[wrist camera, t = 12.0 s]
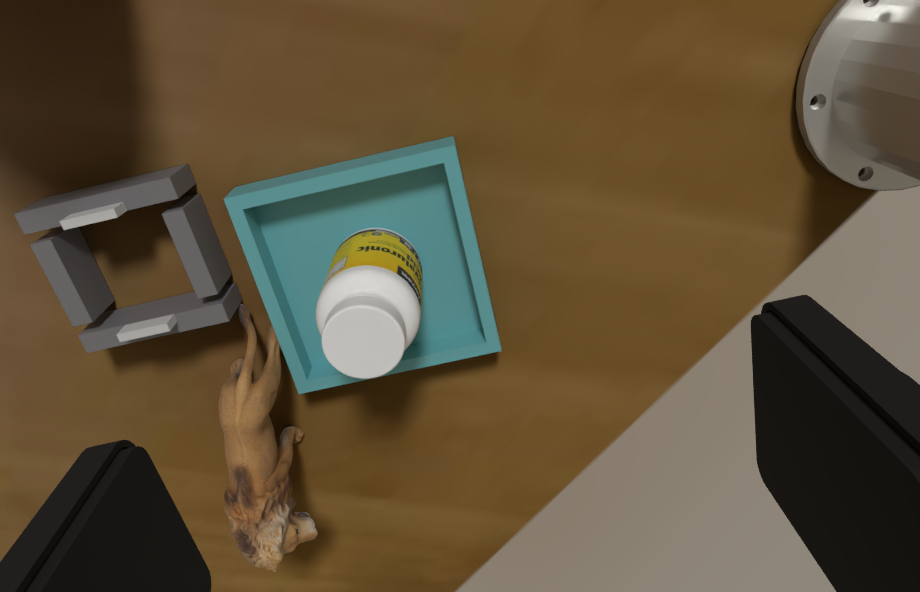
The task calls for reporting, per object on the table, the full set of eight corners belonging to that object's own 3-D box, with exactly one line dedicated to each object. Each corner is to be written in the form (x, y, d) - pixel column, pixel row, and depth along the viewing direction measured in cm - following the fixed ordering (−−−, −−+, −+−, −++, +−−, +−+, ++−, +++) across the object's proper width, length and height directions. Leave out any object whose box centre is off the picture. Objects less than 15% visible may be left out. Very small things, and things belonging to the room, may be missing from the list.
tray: (453, 135, 38) (454, 145, 36) (498, 332, 44) (501, 350, 42) (235, 187, 39) (223, 199, 37) (305, 374, 45) (298, 394, 42)
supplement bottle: (440, 257, 41) (443, 334, 32) (388, 322, 43) (377, 412, 34) (365, 206, 39) (346, 271, 30) (315, 275, 41) (283, 356, 32)
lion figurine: (335, 477, 48) (316, 577, 40) (262, 488, 48) (228, 590, 40) (279, 293, 42) (243, 367, 34) (196, 306, 42) (140, 384, 34)
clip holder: (188, 163, 38) (161, 183, 35) (242, 299, 42) (223, 330, 38) (42, 197, 39) (0, 221, 35) (109, 329, 43) (77, 363, 39)
